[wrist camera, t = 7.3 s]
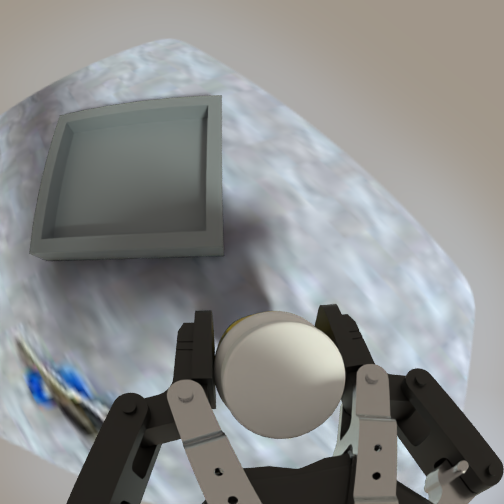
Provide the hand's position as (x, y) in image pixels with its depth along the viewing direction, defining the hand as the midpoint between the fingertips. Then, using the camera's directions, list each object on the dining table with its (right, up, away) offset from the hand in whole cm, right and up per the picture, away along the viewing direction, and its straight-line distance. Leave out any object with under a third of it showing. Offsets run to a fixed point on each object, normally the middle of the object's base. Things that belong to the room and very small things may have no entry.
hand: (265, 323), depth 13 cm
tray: (-10, +9, +8) cm, 15 cm away
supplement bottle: (0, -3, +4) cm, 5 cm away
